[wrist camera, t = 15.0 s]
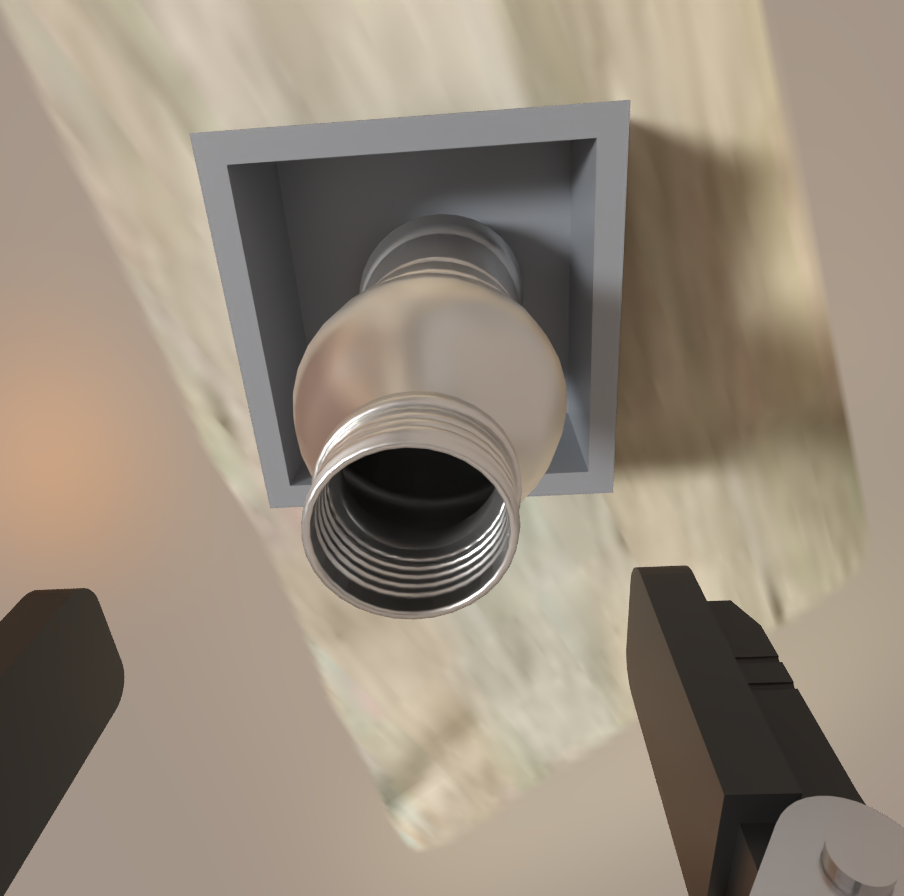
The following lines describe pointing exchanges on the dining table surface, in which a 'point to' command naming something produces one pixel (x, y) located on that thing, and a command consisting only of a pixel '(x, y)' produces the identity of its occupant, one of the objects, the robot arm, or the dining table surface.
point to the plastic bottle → (425, 422)
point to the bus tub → (407, 198)
